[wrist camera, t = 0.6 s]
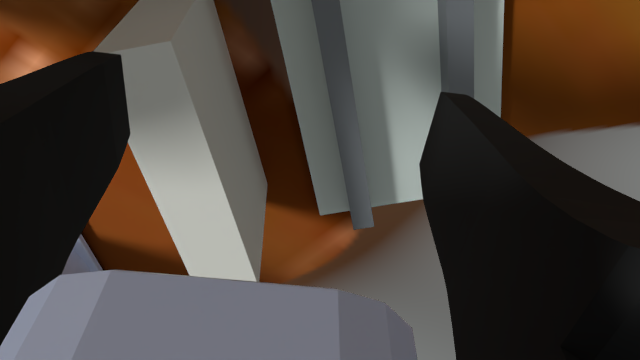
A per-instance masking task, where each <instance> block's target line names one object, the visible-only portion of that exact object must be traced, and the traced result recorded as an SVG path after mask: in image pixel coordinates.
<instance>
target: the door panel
mask: <svg viewBox="0 0 640 360" xmlns="http://www.w3.org/2000/svg"><path fill="white" fill-rule="evenodd" d="M94 52H103V53H111V54H120V55H121V59H122V67H123V75H124V84H125V92H126V100H127V109H128V117H129V125H130V137H129V140H128V143H129V146H130V148H131V150H132V152H133V154H134V156H135V159H136V161H137V163H138V165H139V167H140V169H141V172H142V174H143V176H144V178H145V180H146V182H147V185H148V187H149V189H150V191H151V193H152V195H153V198H154V200H155V202H156V204H157V206H158V208H159V211H160V213H161V215H162V217H163V219H164V221H165V223H166V226H167V228H168V230H169V232H170V234H171V236H172V239H173V241H174V243H175V245H176V247H177V249H178V252H179V254H180V256H181V258H182V260H183V262H184V265H185V267H186V269H187V271H188V273H189V275H190V276H197V277H209V278H221V279H232V280H244V281H255V282H259V277H260V266H261V254H262V242H263V231H264V219H265V208H266V196H267V180H266V177H265V174H264V170H263V167H262V163H261V160H260V157H259V153H258V150H257V146H256V143H255V140H254V136H253V133H252V129H251V126H250V123H249V119H248V116H247V112H246V109H245V106H244V102H243V99H242V95H241V92H240V89H239V85H238V82H237V78H236V75H235V72H234V68H233V65H232V61H231V58H230V55H229V51H228V48H227V44H226V41H225V38H224V34H223V31H222V27H221V24H220V21H219V17H218V14H217V10H216V7H215V4H214V0H139V1H138V2H137V3H136V5H135V6H134V7H133V8H132V9H131V10H130V11H129V12H128V13H127V14H126V16H125V17H124V18H123V19H122V20H121V21H120V22H119V23H118V24H117V25H116V27H115V28H114V29H113V30H112V31H111V32H110V33H109V34H108V35H107V37H106V38H105V39H104V40H103V41H102V42H101V43H100V44H99V45H98V46H97V48H96V49H95V50H94Z"/></svg>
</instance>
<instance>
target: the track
mask: <svg viewBox="0 0 640 360" xmlns="http://www.w3.org/2000/svg"><path fill="white" fill-rule="evenodd" d="M271 4H272V9H273V13H274V17H275V22H276V26H277V30H278V34H279V39H280V43H281V48H282V52H283V56H284V61H285V65H286V69H287V74H288V78H289V82H290V87H291V91H292V96H293V100H294V104H295V109H296V113H297V117H298V122H299V126H300V130H301V135H302V139H303V143H304V148H305V152H306V156H307V161H308V165H309V169H310V174H311V178H312V182H313V187H314V191H315V195H316V200H317V204H318V208H319V213H320V215H326V214H332V213H338V212H345V211H350V213H351V218H352V223H353V229H354V230H356V229H362V228H368V227H374V222H373V216H372V209H371V207H376V206H382V205H389V204H395V203H401V202H407V201H413V200H420V199H423V195H422V187H421V178H420V167H419V163H420V160H421V156H422V153H423V150H424V146H425V143H426V139H427V136H428V133H429V129H430V126H431V123H432V119H433V116H434V112H435V109H436V106H437V102H438V99H439V96H440V92H449V93H457V94H466V95H468V96H470V97H472V98H474V99H475V100H477V101H478V102H480V103H481V104H483V105H484V106H485V107H487V108H488V109H490V110H491V111H492V112H493V113H495V114H496V115H497V116H499V117H500V118H501V90H502V58H503V25H504V0H271Z"/></svg>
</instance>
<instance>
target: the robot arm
mask: <svg viewBox="0 0 640 360" xmlns="http://www.w3.org/2000/svg"><path fill="white" fill-rule="evenodd" d="M129 137H130V125H129V117H128V109H127V100H126V92H125V84H124V75H123V67H122V59H121V55H120V54H111V53H103V52H94V51H92V52H87V53H83V54H80V55H77V56H74V57H71V58H68V59H65V60H63V61H60V62H58V63H55V64H52V65H50V66H47V67H45V68H42V69H40V70H37V71H34V72H32V73H29V74H27V75H24V76H22V77H19V78H16V79H13V80H10V81H8V82H5V83H2V84H0V360H417V354H416V348H415V342H414V336H413V330H412V327H411V326H409V325H408V324H407V323H406V322H405V321H404V320H403V319H402V318H401V317H400V316H399V315H398V314H397V313H396V312H394V311H393V310H392V309H391V308H390V307H389V306H388V305H387V304H386V303H385V302H382V301H379V300H376V299H372V298H368V297H365V296H361V295H358V294H354V293H350V292H347V291H343V290H340V289H336V288H324V287H313V286H301V285H289V284H278V283H267V282H255V281H244V280H232V279H221V278H209V277H197V276H186V275H174V274H163V273H151V272H140V271H128V270H117V269H115V270H105V271H103V269H102V268H101V266H100V264H99V263H98V261H97V259H96V258H95V256H94V254H93V253H92V251H91V249H90V248H89V246H88V244H87V243H86V241H85V239H84V238H83V236H82V234H81V233H82V231H83V229H84V228H85V226H86V224H87V222H88V221H89V219H90V217H91V215H92V214H93V212H94V210H95V208H96V207H97V205H98V203H99V201H100V200H101V198H102V196H103V194H104V193H105V191H106V189H107V187H108V185H109V184H110V182H111V180H112V178H113V176H114V175H115V173H116V171H117V169H118V167H119V164H120V162H121V159H122V157H123V154H124V151H125V148H126V145H127V142H128V140H129ZM419 167H420V178H421V187H422V195H423V201H424V205H425V209H426V212H427V216H428V220H429V223H430V227H431V231H432V234H433V238H434V241H435V245H436V249H437V253H438V256H439V260H440V263H441V267H442V270H443V274H444V279H445V283H446V288H447V294H448V301H449V307H450V314H451V321H452V328H453V336H454V344H455V352H456V360H640V201H637V200H635V199H632V198H631V197H629V196H626V195H624V194H622V193H620V192H618V191H616V190H613V189H611V188H610V187H607V186H605V185H603V184H601V183H600V182H598V181H596V180H594V179H592V178H590V177H589V176H587V175H585V174H583V173H581V172H580V171H578V170H576V169H574V168H572V167H571V166H569V165H567V164H566V163H564V162H562V161H561V160H559V159H558V158H556V157H555V156H553V155H552V154H550V153H549V152H547V151H545V150H544V149H543V148H541V147H539V146H538V145H537V144H535V143H534V142H532V141H531V140H530V139H528V138H527V137H525V136H524V135H523V134H521V133H520V132H519V131H517V130H516V129H515V128H513V127H512V126H511V125H509V124H508V123H507V122H505V121H504V120H503V119H501V118H500V117H499V116H497V115H496V114H495V113H493V112H492V111H491V110H490V109H488V108H487V107H485V106H484V105H483V104H481V103H480V102H478V101H477V100H475V99H474V98H472V97H470V96H468V95H466V94H457V93H449V92H440V96H439V99H438V102H437V106H436V109H435V112H434V116H433V119H432V123H431V126H430V129H429V133H428V136H427V139H426V143H425V146H424V150H423V153H422V156H421V160H420V163H419Z"/></svg>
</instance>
